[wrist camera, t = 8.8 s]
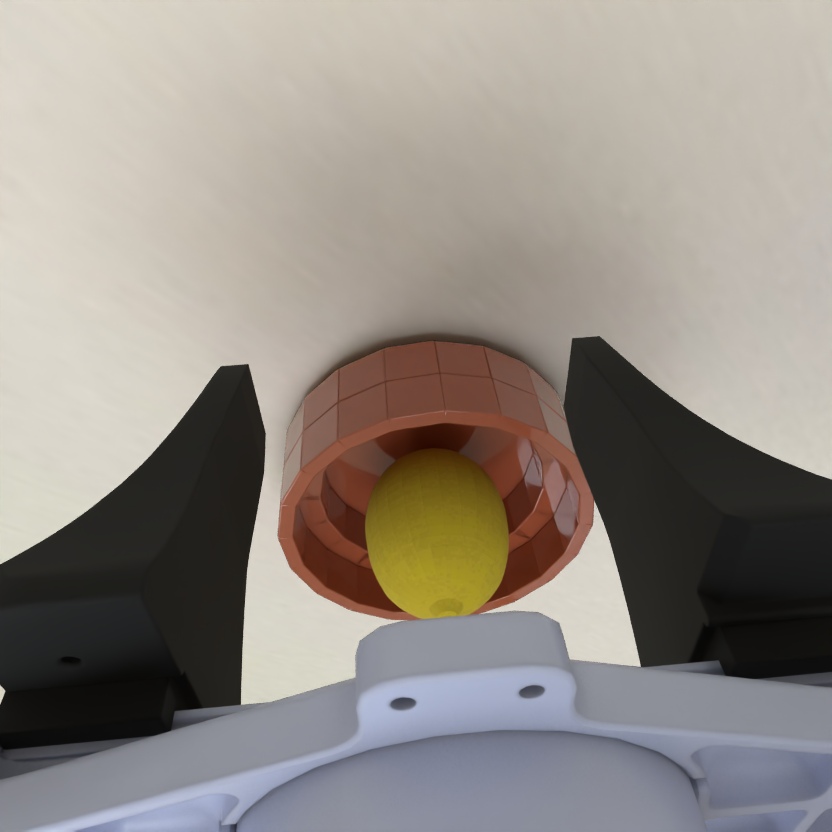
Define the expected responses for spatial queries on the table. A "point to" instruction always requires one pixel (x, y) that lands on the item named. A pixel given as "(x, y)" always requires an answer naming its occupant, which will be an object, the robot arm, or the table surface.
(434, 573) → the lemon
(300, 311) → the table surface
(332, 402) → the bowl
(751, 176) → the table surface
